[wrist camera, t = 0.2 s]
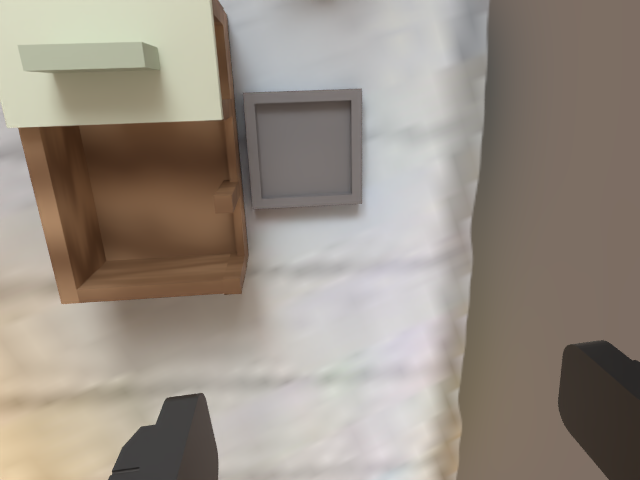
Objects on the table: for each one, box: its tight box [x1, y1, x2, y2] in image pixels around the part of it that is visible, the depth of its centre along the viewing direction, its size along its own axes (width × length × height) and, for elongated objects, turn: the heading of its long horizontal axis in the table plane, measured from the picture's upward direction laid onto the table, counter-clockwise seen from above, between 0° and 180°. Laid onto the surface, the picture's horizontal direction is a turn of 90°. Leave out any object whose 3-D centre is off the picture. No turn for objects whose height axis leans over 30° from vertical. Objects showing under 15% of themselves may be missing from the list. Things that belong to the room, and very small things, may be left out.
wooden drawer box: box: [18, 0, 249, 304], centre depth 31 cm, size 19×12×8 cm, turn 2°
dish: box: [243, 89, 362, 209], centre depth 35 cm, size 9×9×1 cm
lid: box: [0, 0, 223, 128], centre depth 24 cm, size 7×12×4 cm, turn 92°
